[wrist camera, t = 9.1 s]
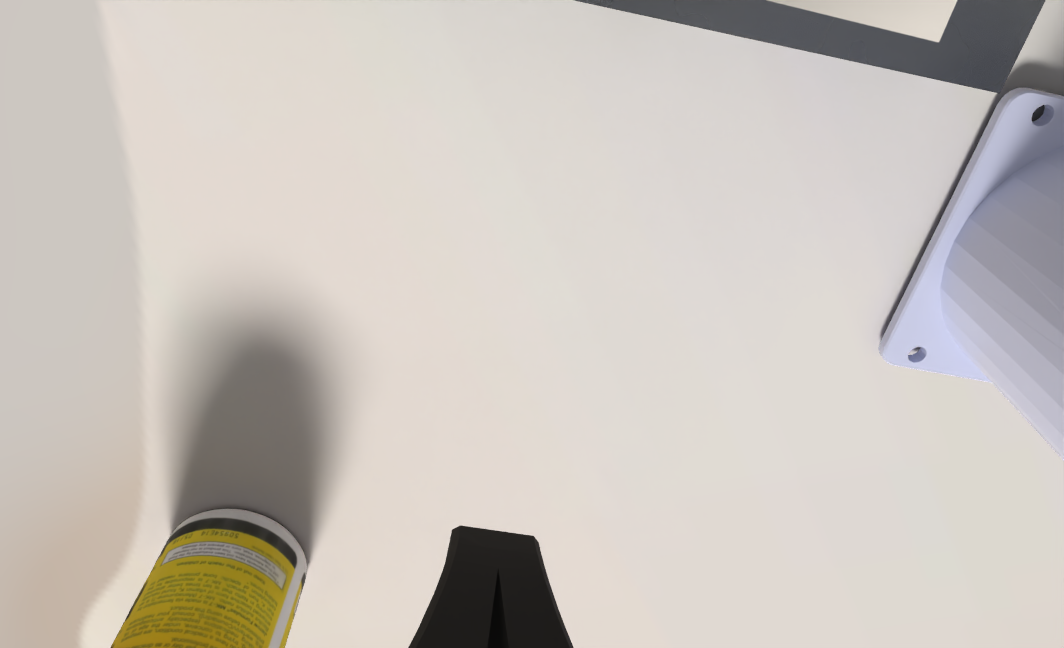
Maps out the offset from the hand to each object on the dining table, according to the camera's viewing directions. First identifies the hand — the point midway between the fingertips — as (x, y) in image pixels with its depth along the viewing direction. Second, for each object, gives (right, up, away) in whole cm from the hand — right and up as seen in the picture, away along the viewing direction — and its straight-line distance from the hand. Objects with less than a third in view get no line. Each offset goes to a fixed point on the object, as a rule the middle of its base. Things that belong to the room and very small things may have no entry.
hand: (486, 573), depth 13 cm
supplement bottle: (-9, -4, +14) cm, 17 cm away
